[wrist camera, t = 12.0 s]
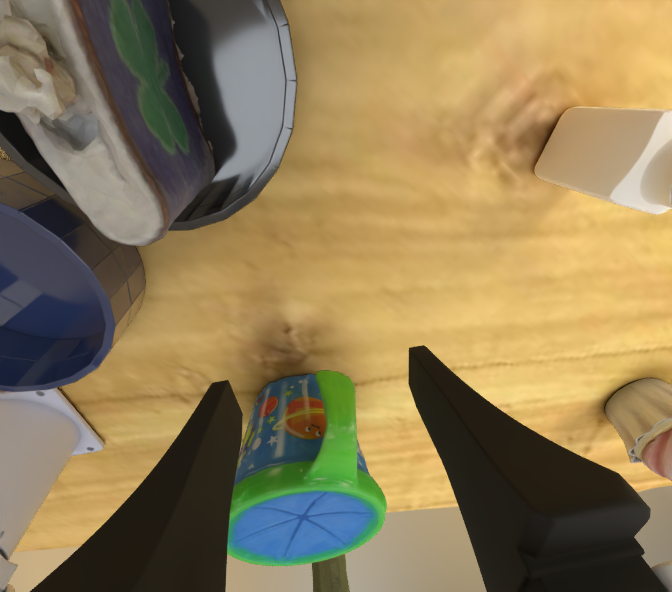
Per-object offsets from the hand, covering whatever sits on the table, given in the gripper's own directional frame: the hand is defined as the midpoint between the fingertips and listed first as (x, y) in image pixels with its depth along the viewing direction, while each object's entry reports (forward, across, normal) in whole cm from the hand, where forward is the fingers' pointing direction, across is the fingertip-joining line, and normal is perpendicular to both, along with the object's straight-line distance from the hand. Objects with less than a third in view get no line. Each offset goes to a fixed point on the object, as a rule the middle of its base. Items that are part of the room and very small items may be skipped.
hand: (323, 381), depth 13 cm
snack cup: (+11, +3, +13) cm, 17 cm away
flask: (+10, +5, -11) cm, 16 cm away
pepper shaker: (+11, -17, -5) cm, 21 cm away
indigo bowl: (+10, +16, -3) cm, 19 cm away
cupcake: (+11, -32, +22) cm, 40 cm away
